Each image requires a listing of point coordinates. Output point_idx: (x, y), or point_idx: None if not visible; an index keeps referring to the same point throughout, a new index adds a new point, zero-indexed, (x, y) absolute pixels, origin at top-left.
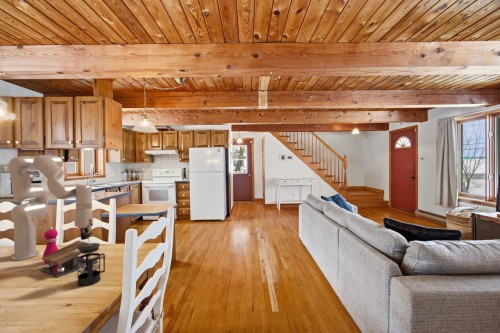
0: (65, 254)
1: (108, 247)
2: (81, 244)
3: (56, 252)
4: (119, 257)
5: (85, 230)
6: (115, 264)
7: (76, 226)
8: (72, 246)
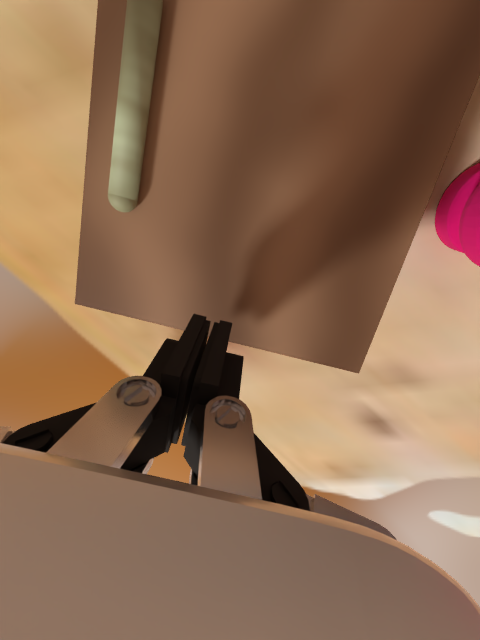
0: (223, 43)
1: (281, 447)
2: (230, 293)
3: (414, 84)
4: (104, 351)
5: (78, 421)
6: (29, 267)
7: (322, 532)
8: (309, 245)
